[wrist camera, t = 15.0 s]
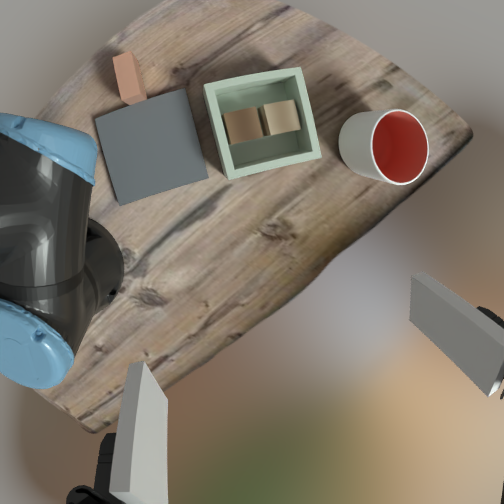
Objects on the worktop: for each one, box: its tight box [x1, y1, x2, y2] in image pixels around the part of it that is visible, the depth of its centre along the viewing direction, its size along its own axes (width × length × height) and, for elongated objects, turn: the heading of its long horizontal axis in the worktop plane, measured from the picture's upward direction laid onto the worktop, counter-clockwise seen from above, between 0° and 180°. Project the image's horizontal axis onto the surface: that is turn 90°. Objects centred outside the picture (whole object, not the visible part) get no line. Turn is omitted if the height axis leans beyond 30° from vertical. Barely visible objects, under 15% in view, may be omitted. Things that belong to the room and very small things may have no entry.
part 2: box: [257, 99, 301, 136], centre depth 37 cm, size 4×4×4 cm
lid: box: [95, 51, 209, 206], centre depth 34 cm, size 13×19×6 cm
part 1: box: [221, 106, 263, 145], centre depth 37 cm, size 4×4×4 cm
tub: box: [203, 67, 322, 180], centre depth 37 cm, size 12×12×6 cm
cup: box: [339, 109, 429, 185], centre depth 38 cm, size 10×10×10 cm
